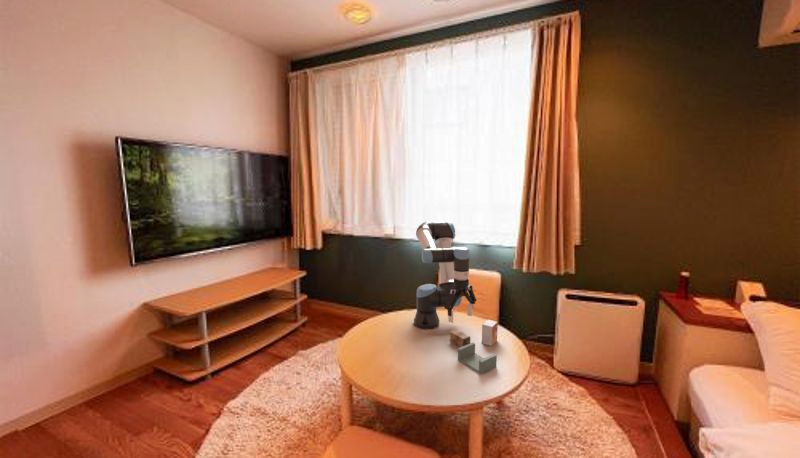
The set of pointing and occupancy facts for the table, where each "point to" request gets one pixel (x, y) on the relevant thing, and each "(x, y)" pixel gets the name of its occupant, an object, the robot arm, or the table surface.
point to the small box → (489, 332)
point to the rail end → (459, 338)
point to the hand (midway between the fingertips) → (460, 318)
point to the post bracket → (476, 359)
